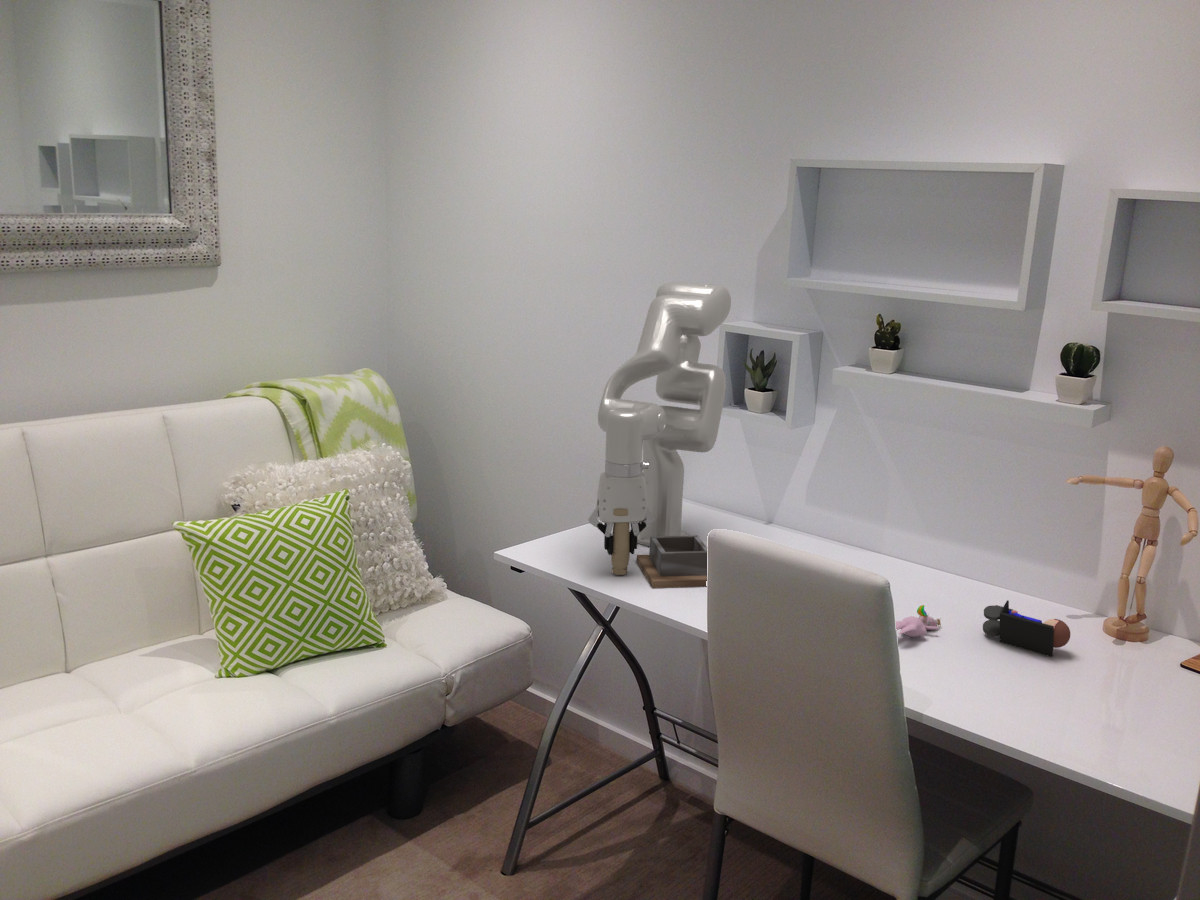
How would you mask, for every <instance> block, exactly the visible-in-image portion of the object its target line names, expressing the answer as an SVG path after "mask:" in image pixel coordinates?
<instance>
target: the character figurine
mask: <svg viewBox="0 0 1200 900" xmlns="http://www.w3.org/2000/svg"><path fill="white" fill-rule="evenodd" d="M1009 605H1010V601H1009V600H1006V601H1005V603H1004V605H1003V606H1002V605H998V604H996V605H988V606H986V607H984V609H983V616H984V617H985V619H988V620H985V621H984V622H983V623H982V631H983V633H984V634H986V635H987V636H991V637H998V636H999V643H1001V644H1006V645H1008V646H1012V647H1016V648H1019V649H1023V650H1026V651H1030V652H1033V653H1036V654H1040V655H1044V656H1047V657H1050V658H1053V656H1054V649H1056V648H1058V649H1059V648H1062V647H1065V646H1066V645H1067V644H1068V643H1069V641H1070V639H1071V629H1070V627H1069V625H1068V624H1067V623H1066V622H1065V621H1063V620H1061V619H1057V618H1051V619H1047V620H1045V621H1044V622H1043V621H1042V620H1041V619H1037V618H1035V617H1030V616H1027V615H1022V614H1021V613H1019V612H1018V611H1017V610H1016V609H1013V608H1010V607H1009Z"/></svg>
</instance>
